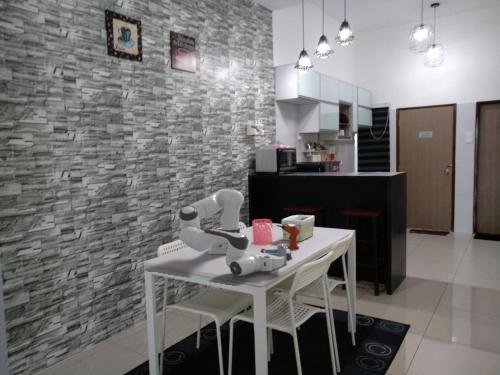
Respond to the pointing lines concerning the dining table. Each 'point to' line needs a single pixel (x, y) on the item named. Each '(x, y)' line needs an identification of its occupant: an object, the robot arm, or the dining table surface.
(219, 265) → the dining table surface
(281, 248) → the motor
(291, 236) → the toy drill
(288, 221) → the storage basket
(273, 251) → the chassis
